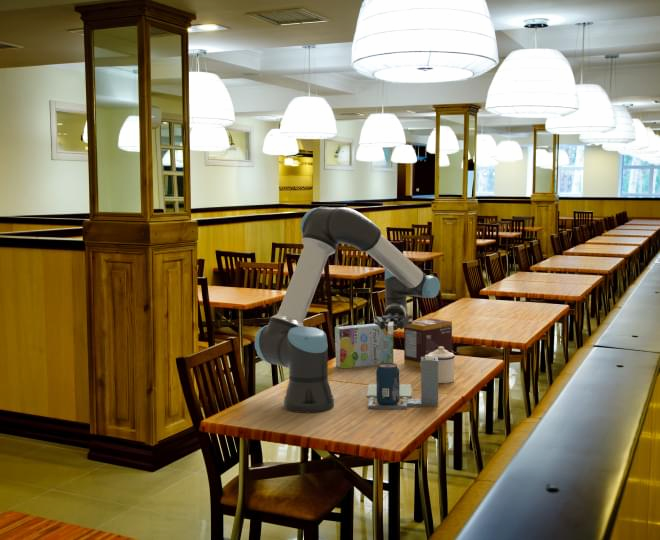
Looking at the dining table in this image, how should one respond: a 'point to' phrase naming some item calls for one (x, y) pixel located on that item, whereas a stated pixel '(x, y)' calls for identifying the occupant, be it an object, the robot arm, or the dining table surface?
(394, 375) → the soda can
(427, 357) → the plunger
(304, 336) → the robot arm
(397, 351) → the dining table surface
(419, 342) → the supplement box
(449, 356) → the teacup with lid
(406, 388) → the pad
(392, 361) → the snack box
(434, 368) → the grey l-shaped piece
